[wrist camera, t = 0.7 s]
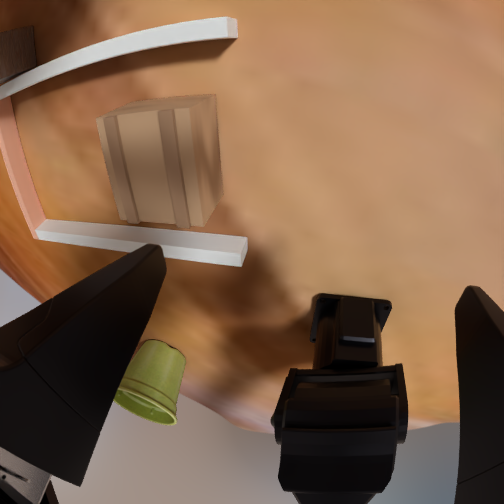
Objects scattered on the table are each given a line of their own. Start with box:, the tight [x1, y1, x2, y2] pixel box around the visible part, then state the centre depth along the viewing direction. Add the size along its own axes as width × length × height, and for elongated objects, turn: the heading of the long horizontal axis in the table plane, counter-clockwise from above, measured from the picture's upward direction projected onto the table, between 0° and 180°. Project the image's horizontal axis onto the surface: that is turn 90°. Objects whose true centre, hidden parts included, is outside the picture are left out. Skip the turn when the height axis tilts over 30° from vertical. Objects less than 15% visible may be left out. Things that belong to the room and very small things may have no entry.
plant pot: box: [113, 340, 186, 425], centre depth 34 cm, size 9×9×9 cm
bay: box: [0, 17, 248, 267], centre depth 20 cm, size 16×23×2 cm
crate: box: [96, 94, 223, 228], centre depth 17 cm, size 7×6×4 cm
